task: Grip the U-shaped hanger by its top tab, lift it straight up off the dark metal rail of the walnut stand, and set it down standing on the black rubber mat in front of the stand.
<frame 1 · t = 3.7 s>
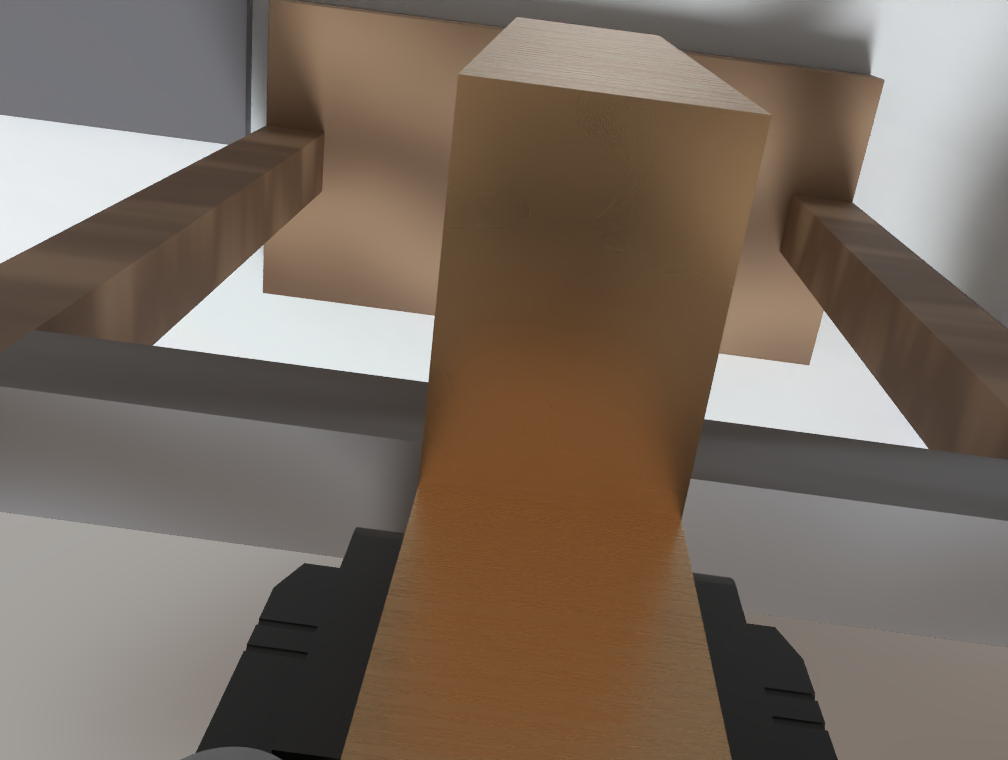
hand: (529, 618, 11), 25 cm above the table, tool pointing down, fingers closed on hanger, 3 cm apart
hanger: (548, 297, 23), point 13 cm above the table, touching gripper, stand
stand: (555, 183, 35), on the table
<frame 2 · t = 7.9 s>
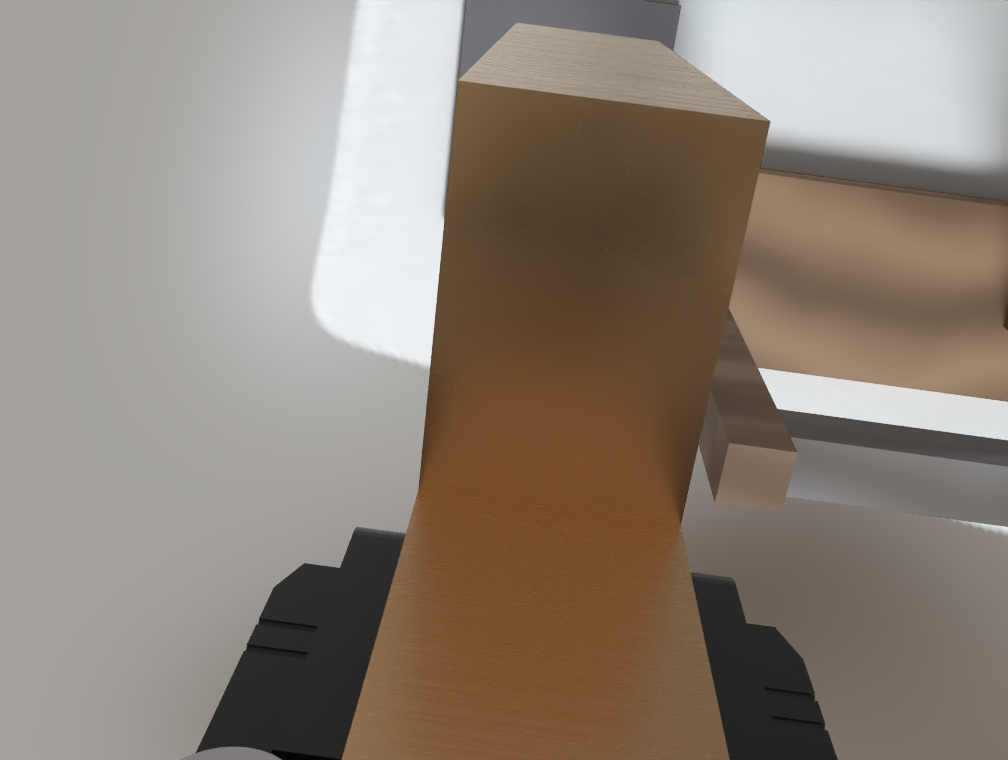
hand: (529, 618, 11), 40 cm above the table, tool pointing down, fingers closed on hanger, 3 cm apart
hanger: (548, 302, 23), point 28 cm above the table, touching gripper
mat: (556, 120, 48), on the table
stand: (844, 278, 50), on the table
when the fingers open (14 cm above the table, at t = 12.0 s): hanger drops 2 cm, resting on mat.
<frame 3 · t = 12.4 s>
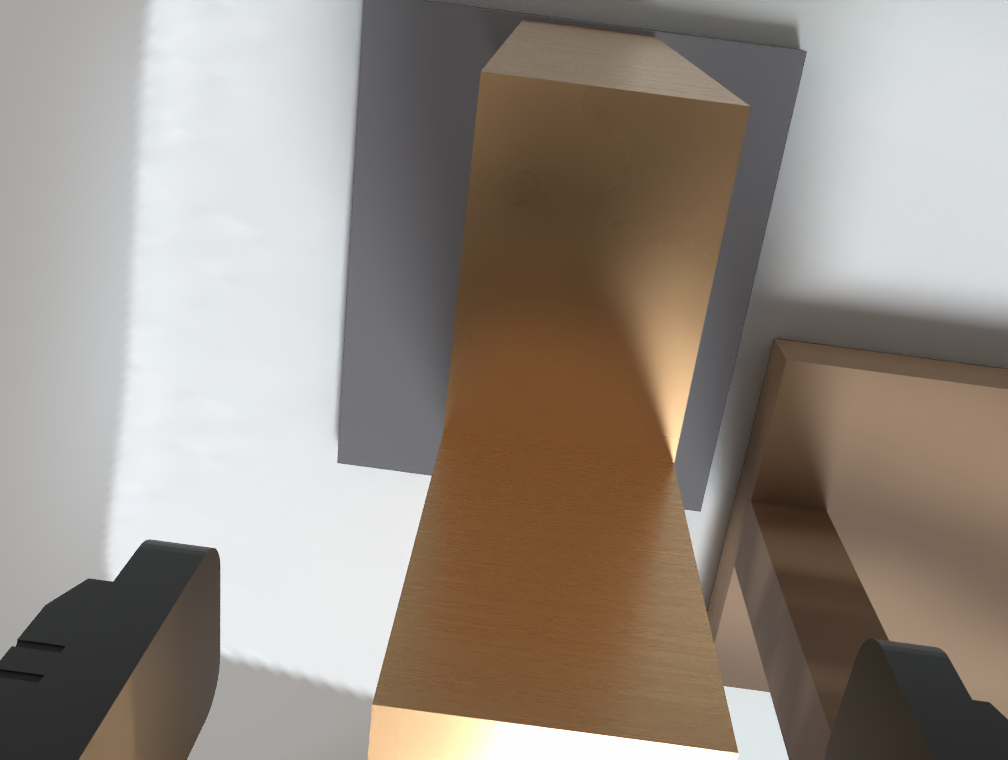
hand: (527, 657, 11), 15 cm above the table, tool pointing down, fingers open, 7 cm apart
hanger: (552, 282, 24), point 1 cm above the table, touching mat
mat: (549, 270, 25), on the table
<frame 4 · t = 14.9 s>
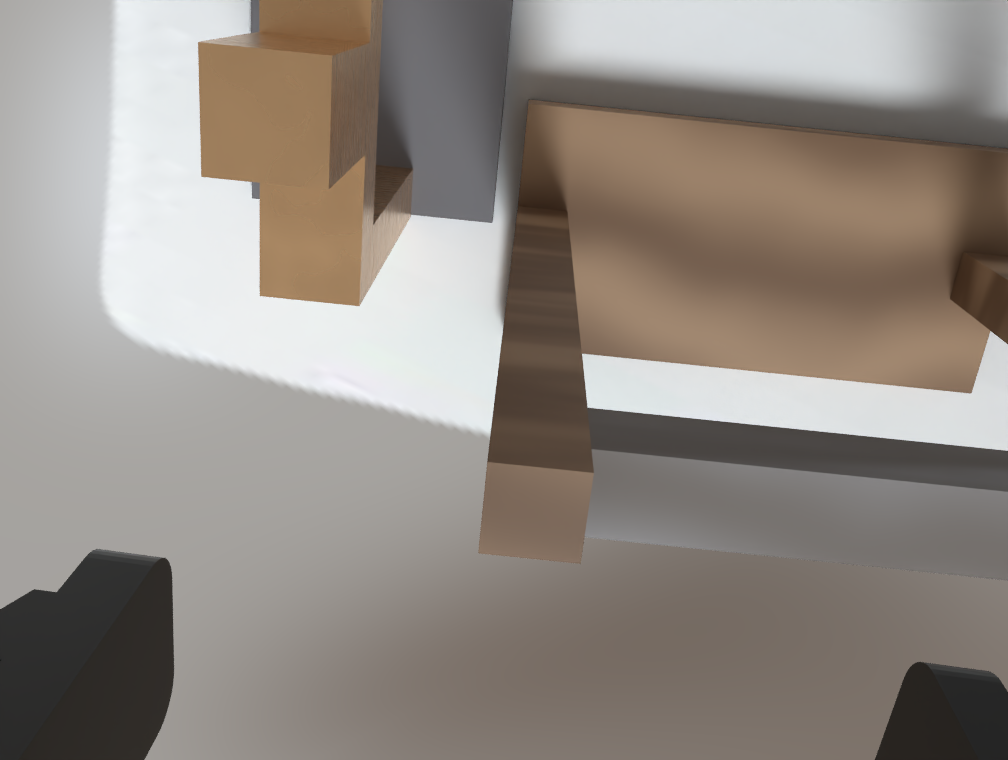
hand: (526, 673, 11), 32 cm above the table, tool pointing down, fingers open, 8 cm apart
hanger: (381, 62, 38), point 1 cm above the table, touching mat
mat: (381, 58, 38), on the table
stand: (753, 246, 41), on the table
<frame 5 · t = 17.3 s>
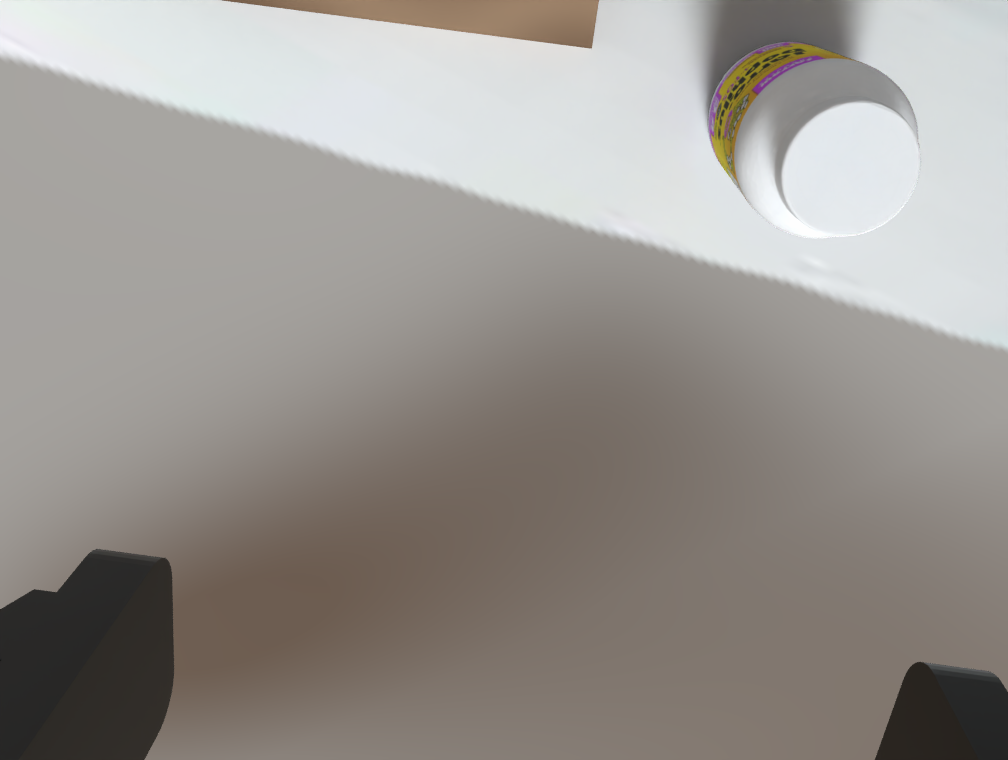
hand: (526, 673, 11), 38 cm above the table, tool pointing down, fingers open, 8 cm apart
supplement bottle: (776, 115, 45), on the table
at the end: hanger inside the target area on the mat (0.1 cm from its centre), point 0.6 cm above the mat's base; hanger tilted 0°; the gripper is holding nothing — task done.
